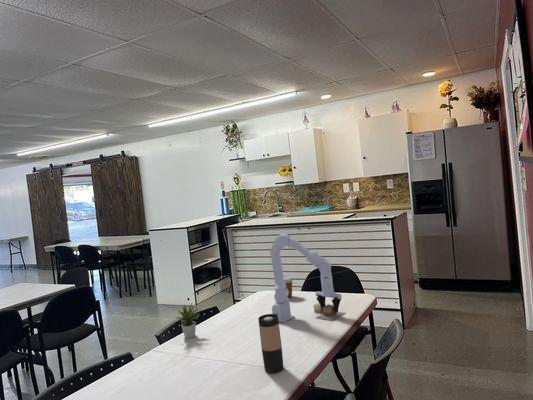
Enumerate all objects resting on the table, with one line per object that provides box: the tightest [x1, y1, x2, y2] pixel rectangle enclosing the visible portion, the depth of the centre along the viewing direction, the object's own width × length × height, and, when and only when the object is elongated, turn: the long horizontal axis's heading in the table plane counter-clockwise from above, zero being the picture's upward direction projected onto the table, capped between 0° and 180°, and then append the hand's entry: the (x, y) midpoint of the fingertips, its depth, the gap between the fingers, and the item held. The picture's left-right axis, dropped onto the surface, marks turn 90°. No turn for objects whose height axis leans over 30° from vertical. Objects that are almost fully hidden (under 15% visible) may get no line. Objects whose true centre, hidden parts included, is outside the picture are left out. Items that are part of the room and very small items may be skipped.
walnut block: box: [322, 304, 337, 317], centre depth 200 cm, size 5×5×4 cm
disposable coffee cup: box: [284, 275, 293, 299], centre depth 243 cm, size 10×10×12 cm
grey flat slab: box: [315, 311, 346, 322], centre depth 200 cm, size 12×10×1 cm
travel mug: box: [257, 313, 284, 375], centre depth 148 cm, size 8×8×20 cm
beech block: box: [313, 302, 323, 314], centre depth 209 cm, size 4×4×4 cm
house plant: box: [175, 303, 202, 339], centre depth 193 cm, size 14×14×16 cm
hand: (330, 311), depth 200 cm, fingers open, 7 cm apart
